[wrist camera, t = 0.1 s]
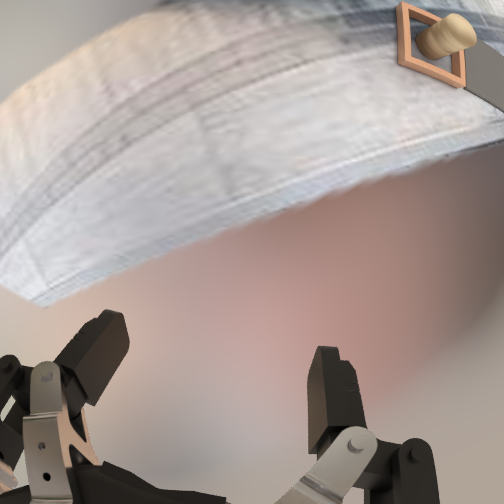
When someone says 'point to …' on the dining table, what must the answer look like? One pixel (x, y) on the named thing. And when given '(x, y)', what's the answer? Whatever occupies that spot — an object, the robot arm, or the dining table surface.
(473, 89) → the charcoal mat
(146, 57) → the dining table surface
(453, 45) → the maple post
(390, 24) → the dining table surface
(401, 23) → the terracotta collar
